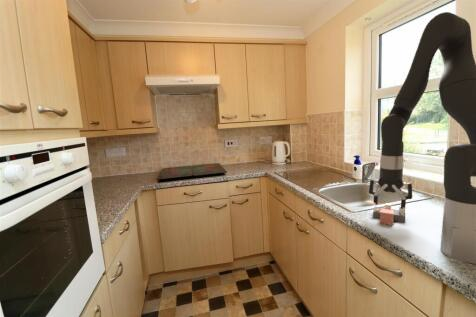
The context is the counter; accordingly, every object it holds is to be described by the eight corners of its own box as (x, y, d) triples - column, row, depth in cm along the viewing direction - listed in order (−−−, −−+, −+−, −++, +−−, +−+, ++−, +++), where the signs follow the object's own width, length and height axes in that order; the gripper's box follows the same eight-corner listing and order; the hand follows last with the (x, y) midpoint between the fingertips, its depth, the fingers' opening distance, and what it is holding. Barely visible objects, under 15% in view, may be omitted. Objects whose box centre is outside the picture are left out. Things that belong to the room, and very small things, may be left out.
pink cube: (393, 224, 91) (393, 214, 90) (379, 222, 93) (380, 212, 93) (393, 220, 94) (393, 210, 94) (380, 218, 97) (381, 208, 96)
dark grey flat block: (404, 222, 93) (405, 214, 92) (373, 217, 99) (373, 209, 98) (404, 216, 97) (405, 209, 97) (374, 212, 104) (374, 205, 103)
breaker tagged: (390, 211, 97) (390, 205, 97) (385, 210, 98) (385, 204, 98) (390, 209, 99) (391, 203, 98) (385, 208, 100) (385, 203, 99)
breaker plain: (405, 213, 94) (405, 207, 94) (399, 212, 95) (399, 206, 95) (404, 211, 96) (405, 205, 95) (399, 210, 97) (399, 204, 97)
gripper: (368, 166, 92) (367, 206, 95) (414, 170, 84) (410, 213, 86) (371, 163, 98) (370, 200, 101) (414, 166, 89) (411, 206, 92)
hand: (389, 206), depth 94 cm, fingers open, 8 cm apart
